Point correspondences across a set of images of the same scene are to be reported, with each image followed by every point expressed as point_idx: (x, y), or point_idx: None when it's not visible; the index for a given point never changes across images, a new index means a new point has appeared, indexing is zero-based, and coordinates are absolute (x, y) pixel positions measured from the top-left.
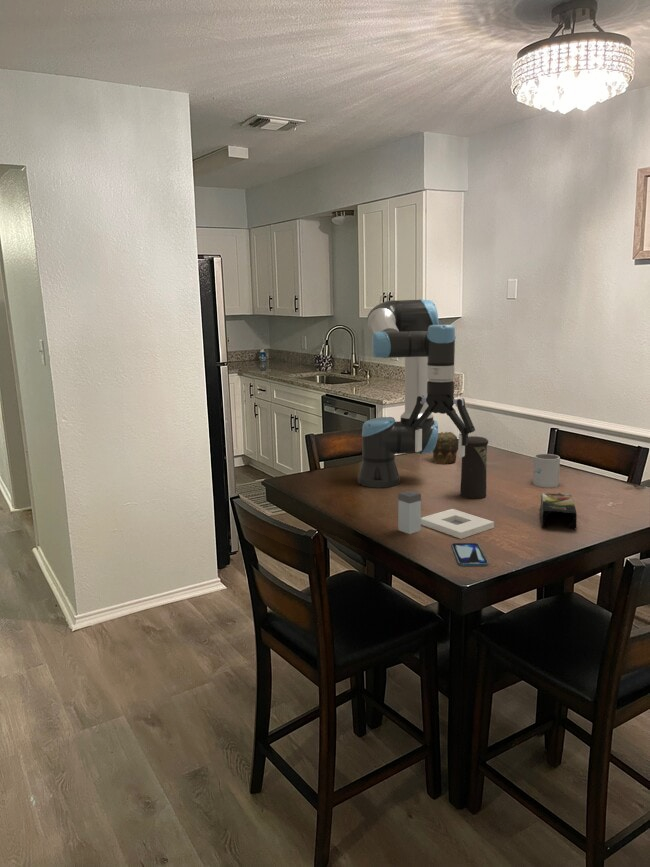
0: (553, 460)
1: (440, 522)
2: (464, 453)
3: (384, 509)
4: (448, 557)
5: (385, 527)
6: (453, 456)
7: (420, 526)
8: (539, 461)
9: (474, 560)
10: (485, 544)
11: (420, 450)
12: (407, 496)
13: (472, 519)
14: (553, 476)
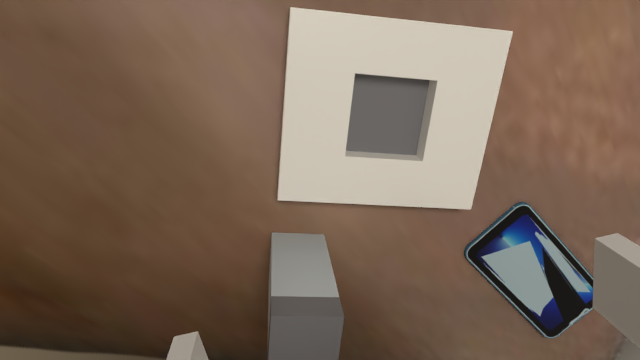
0: None
1: (363, 182)
2: (636, 251)
3: (53, 162)
4: (501, 320)
5: (222, 289)
6: None
7: (325, 242)
8: None
9: (572, 305)
10: (541, 184)
11: (205, 357)
12: None
13: (433, 68)
14: None
